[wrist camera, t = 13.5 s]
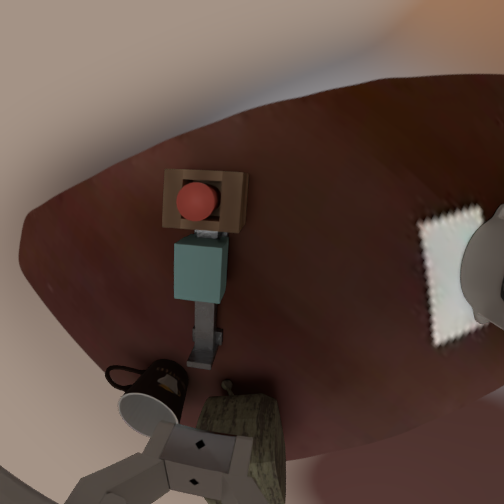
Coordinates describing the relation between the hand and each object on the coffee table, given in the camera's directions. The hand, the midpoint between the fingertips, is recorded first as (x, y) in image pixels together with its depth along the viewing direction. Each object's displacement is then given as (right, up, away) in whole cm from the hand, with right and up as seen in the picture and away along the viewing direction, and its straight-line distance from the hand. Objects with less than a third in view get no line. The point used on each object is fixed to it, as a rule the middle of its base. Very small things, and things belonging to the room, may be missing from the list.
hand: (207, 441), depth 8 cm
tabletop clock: (+2, -18, +36) cm, 40 cm away
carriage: (-4, +5, +29) cm, 29 cm away
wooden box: (-3, +13, +28) cm, 31 cm away
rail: (-4, +2, +31) cm, 31 cm away
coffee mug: (-12, -12, +35) cm, 39 cm away
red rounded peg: (-3, +12, +25) cm, 28 cm away
